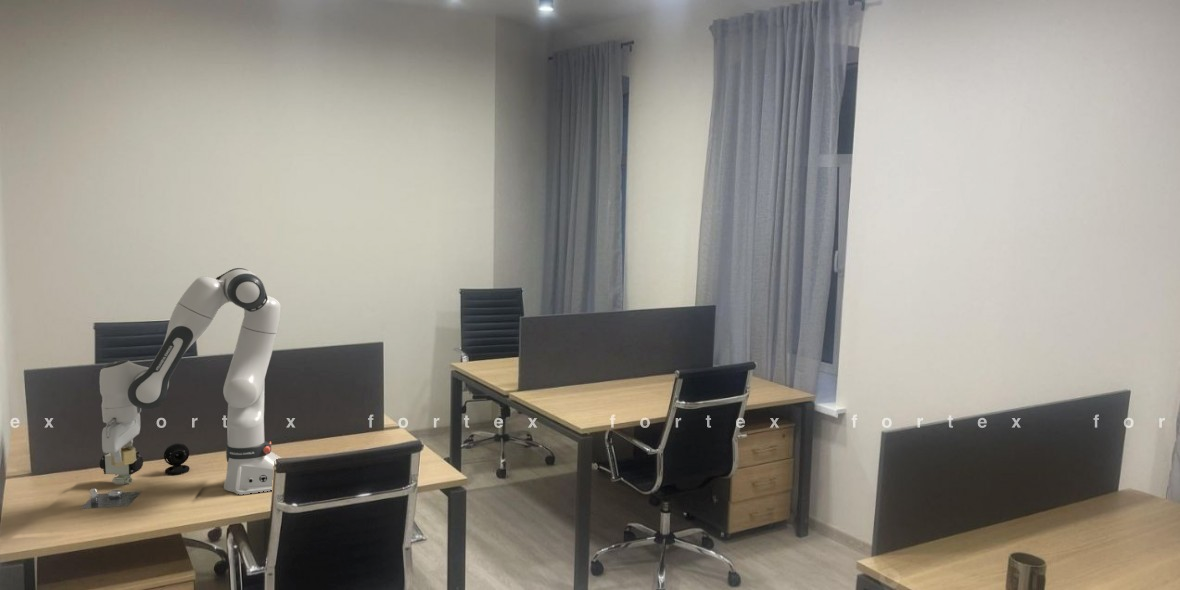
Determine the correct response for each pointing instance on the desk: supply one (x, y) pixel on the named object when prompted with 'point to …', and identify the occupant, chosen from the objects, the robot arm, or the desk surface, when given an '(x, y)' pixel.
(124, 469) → the pneumatic valve
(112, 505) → the carrier
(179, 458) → the webcam
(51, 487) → the desk surface
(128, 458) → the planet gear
